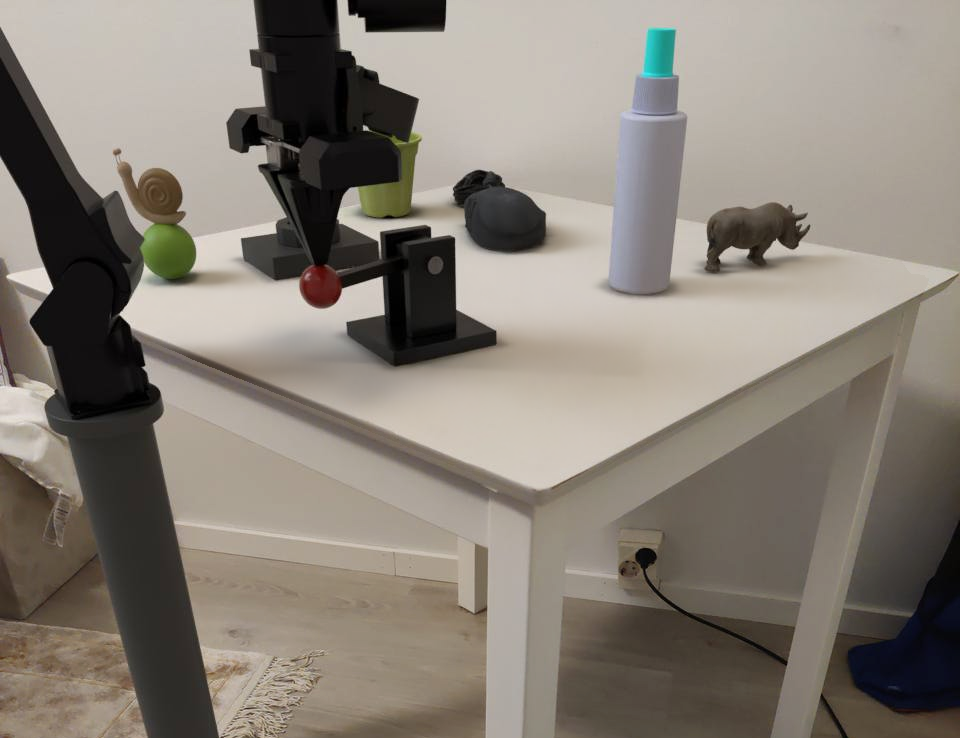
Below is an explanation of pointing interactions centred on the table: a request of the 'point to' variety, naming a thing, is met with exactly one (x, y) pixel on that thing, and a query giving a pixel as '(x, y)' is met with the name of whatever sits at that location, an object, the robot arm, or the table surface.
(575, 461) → the table surface
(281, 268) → the box
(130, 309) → the table surface
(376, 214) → the plant pot
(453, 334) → the switch bracket
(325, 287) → the lever
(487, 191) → the dark rounded piece
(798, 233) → the rhino figurine
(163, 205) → the snail figurine
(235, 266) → the table surface
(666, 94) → the spray bottle
